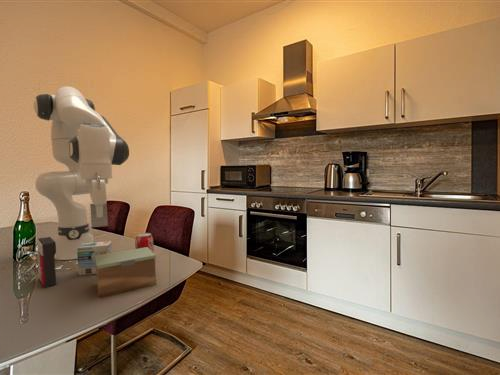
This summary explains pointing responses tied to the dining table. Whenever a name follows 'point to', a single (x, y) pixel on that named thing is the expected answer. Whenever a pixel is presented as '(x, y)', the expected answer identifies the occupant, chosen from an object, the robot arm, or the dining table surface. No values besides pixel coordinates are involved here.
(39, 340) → the dining table surface
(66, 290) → the dining table surface
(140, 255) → the lid
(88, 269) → the light bulb box
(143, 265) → the storage box
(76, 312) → the dining table surface
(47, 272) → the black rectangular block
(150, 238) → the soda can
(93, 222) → the block
